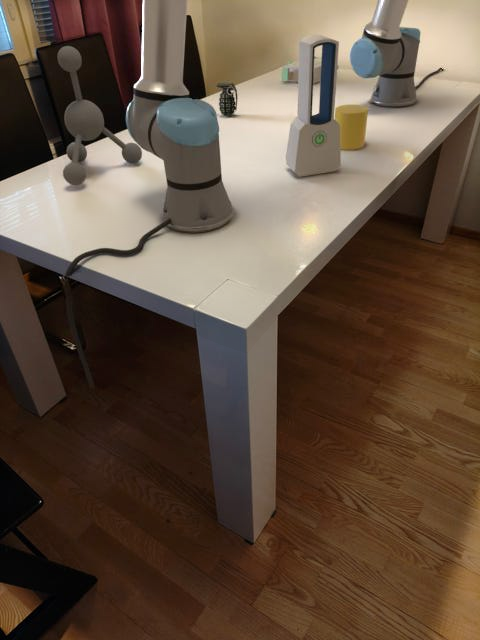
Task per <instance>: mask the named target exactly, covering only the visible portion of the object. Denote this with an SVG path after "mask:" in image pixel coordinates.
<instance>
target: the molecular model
mask: <svg viewBox="0 0 480 640" xmlns="http://www.w3.org/2000/svg"><path fill="white" fill-rule="evenodd" d="M82 59H83V58H82V56H81V52H79V50H78V49H77V48H75V47H73V46H71V45H64V46H62V47H61V48H60V49H59V50H58V52H57V62H58V64H59V66H60V67H61V69H63V70H64V71H66V72H67V73H68V72H69V75H70V79H71V84H72V87H73V92H74V96H75V100H74V101H72V102H71V103H70V104H69V105H67V107H66V109H65V111H64V117H63V118H64V120H63V121H64V126H65V127H66V129H67V131H68V132H69V134H70V135H71V136H72V137H74V141H73V142H71V143H70V144H68V145H67V147H66V157H68V159H69V160H70V161H71V162H69V163H68V164H66V165H65V166H64V168H63V170H62V175H63V179H64V180H65V181H66V182H67V183H68V184H70V185H72V186H79V185H82V184H83V183H84V182H85V181H86V179H87V171H86V169H85V168H84V166H83V165H81V164H80V163H82V162H84V161H85V160H86V159H87V156H88V151H87V148H86V146H85V145H84V144H82V141H84V142H89V141H94V140H96V139H97V138H98V137H100V135H101V134H103V135H104V136H106V137H107V138H108V139H109V140H111V141H112V142H113V143H115V144H116V145H117V146H118V147H119V148H121V157H122V158H123V160H124V161H125V162H126V163H128V164H130V165H131V164H137V163H139V162H140V161H141V159H142V158H143V151H142V148H141V147H140V146H139V145H138V144H137V143H136V142H128V143H124V141H122V140H121V139H120V138H119V137H117V136H116V135H115V134H114V133H113V132H111V131H110V130H109V129H107V128H106V127H105V119H104V115H103V112H102V111H101V109H100V108H99V106H98V105H96V104H95V103H94V102H92V101H90V100H87V99H83V95H82V91H81V87H80V82H79V78H78V74H77V71H78V70H80V69H81V67H82V62H83V60H82Z"/></svg>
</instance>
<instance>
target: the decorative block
mask: <svg viewBox="0 0 480 640" xmlns="http://www.w3.org/2000/svg"><path fill="white" fill-rule="evenodd" d="M321 61H322V56H315V55H314V76H313V85H316V84H317V83H320V82H321ZM337 70H339V64H337ZM298 76H299V60H296V61H287V62H286V65H283V67H281V81H282V82H283V81H284V82H292V83H298Z"/></svg>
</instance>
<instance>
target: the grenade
mask: <svg viewBox="0 0 480 640" xmlns="http://www.w3.org/2000/svg"><path fill="white" fill-rule="evenodd" d="M215 87H217V88H219V89H221V93H219V97H218V101H219V102H218V106H219V108H218V109H219V112H220V114H221V115H222V116H224V117H231V116H233V115H234V113H235V112H236V111H237V108H238V89H237V87H236V85H235V84H234V83H233V82H218V83H217V84H216V86H215ZM232 91H233V92H232ZM234 94H235V96H234Z"/></svg>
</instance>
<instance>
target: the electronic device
mask: <svg viewBox="0 0 480 640" xmlns="http://www.w3.org/2000/svg"><path fill="white" fill-rule="evenodd" d="M320 46H321V57H322V61H321V81H319V83H320V84H319V85H320V86H319V104H318V113H316V114H313V99H314V97H313V96H314V84H313V76H314V56H315V50H316V48H318V47H320ZM339 48H340V41H338V40H336V39H333V38H330V37H327V36H324V35H321V34H311V35H307V36H305V37H303V38H301V39H299V41H298V61H299V76H298V82H297V83H298V84H297V88H298V89H297V117H295V118H294V119H293V120H292V122H290V125H289V131H288V132H289V133H288V139H287V146H286V152H285V160H286V161H285V163H286V166H287V167H288V168H289V169H290V170H291V171H292V172H293V173H294V174H295V175H296V176H297V177H298V178H301V177H307V176H313V175H314V176H315V175H319V174H326V173H333V172H337V170H339V169H340V167H341V165H342V164H341V163H342V161H341V159H342V158H341V155H342V154H341V149H340V124H339V123H338V122H336V121H335V109H336V107H335V106H336V95H337V93H336V91H337V90H336V89H337V78H338V69H337V65H339V64H338V63H339V62H338V61H339Z"/></svg>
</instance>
